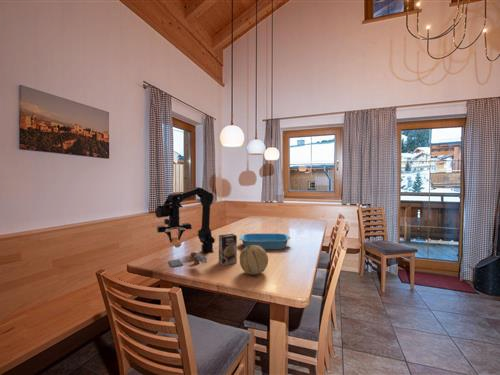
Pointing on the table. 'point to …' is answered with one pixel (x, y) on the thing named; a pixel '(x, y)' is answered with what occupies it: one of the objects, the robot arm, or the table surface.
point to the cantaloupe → (253, 259)
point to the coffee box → (227, 249)
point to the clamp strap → (201, 258)
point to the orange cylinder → (175, 242)
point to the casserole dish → (265, 240)
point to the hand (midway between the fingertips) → (174, 242)
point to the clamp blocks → (194, 258)
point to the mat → (176, 263)
